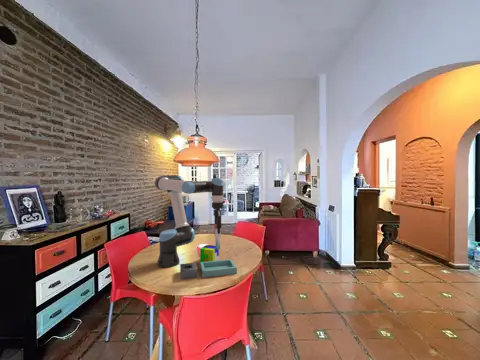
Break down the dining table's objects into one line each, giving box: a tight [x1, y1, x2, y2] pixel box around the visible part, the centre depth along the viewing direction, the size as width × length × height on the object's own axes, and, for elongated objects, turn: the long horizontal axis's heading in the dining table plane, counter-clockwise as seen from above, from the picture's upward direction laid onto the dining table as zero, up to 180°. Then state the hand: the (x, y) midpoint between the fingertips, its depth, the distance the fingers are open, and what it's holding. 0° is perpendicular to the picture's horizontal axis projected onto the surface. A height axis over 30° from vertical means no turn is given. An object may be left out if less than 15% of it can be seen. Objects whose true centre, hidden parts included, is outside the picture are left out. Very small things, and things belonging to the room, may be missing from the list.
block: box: [179, 262, 198, 280], centre depth 149 cm, size 12×10×5 cm
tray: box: [199, 258, 238, 278], centre depth 155 cm, size 16×22×4 cm
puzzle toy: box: [199, 244, 220, 263], centre depth 172 cm, size 10×10×10 cm
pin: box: [213, 223, 221, 251], centre depth 154 cm, size 5×5×16 cm
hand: (217, 237), depth 154 cm, fingers closed on pin, 5 cm apart
